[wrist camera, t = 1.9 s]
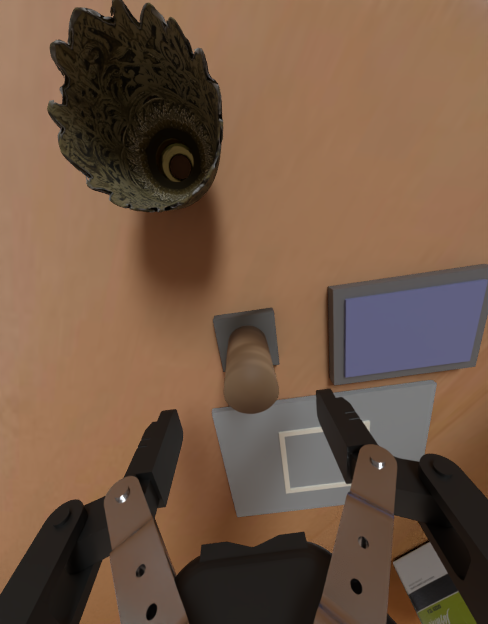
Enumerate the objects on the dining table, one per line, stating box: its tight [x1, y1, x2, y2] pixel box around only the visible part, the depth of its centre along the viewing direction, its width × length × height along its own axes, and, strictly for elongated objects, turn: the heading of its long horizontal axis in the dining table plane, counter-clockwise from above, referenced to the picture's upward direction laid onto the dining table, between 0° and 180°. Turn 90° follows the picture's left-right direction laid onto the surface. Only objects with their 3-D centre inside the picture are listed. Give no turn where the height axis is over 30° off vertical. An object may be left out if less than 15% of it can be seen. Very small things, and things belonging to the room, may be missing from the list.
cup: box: [47, 0, 223, 212], centre depth 13 cm, size 8×7×8 cm
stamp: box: [213, 308, 279, 414], centre depth 18 cm, size 6×6×8 cm
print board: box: [212, 380, 437, 517], centre depth 27 cm, size 24×18×1 cm
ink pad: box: [328, 264, 488, 385], centre depth 21 cm, size 14×10×2 cm
